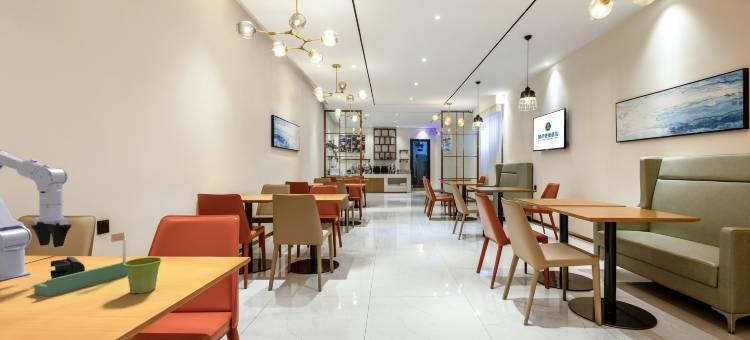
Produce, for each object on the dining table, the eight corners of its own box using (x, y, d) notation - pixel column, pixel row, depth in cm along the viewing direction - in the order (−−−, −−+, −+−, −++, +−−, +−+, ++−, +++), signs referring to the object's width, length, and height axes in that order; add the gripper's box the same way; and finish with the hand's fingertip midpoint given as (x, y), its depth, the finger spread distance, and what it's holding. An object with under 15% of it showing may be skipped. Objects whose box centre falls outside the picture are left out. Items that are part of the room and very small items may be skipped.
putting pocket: (34, 293, 101) (34, 242, 101) (116, 272, 122) (116, 230, 122) (49, 296, 98) (49, 244, 98) (130, 274, 119) (130, 231, 119)
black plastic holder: (85, 280, 113) (85, 259, 113) (55, 286, 107) (55, 264, 107) (78, 274, 119) (78, 254, 119) (50, 279, 114) (50, 258, 114)
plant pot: (166, 290, 103) (166, 260, 103) (127, 298, 96) (127, 267, 96) (156, 283, 109) (156, 255, 109) (119, 291, 102) (119, 261, 102)
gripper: (22, 205, 115) (23, 246, 115) (49, 206, 110) (50, 249, 110) (49, 203, 122) (49, 242, 122) (75, 204, 117) (76, 245, 117)
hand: (51, 245), depth 116 cm, fingers open, 7 cm apart
